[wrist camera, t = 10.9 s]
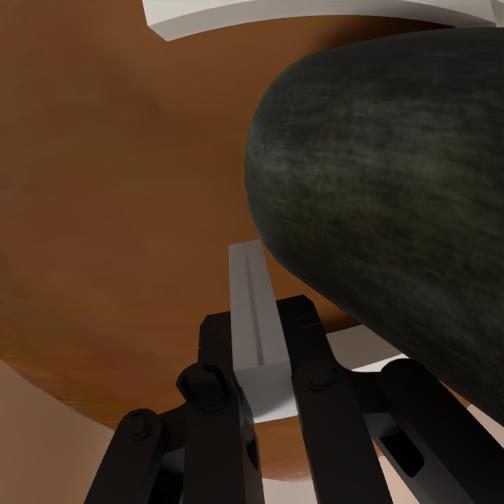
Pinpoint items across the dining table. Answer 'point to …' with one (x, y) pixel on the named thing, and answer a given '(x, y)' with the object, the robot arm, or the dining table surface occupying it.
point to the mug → (395, 194)
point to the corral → (310, 4)
